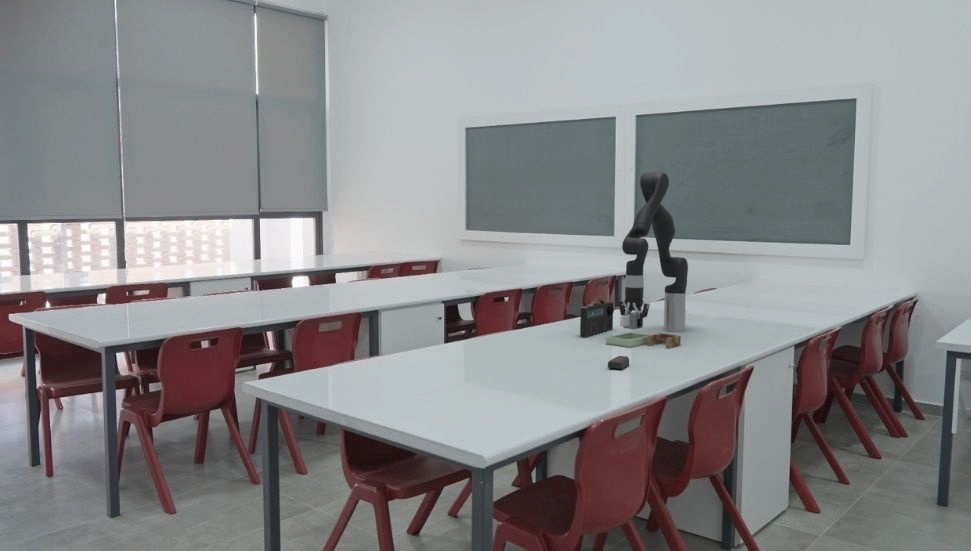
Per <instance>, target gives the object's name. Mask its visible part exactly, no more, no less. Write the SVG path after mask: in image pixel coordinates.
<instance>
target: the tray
mask: <svg viewBox="0 0 971 551" xmlns="http://www.w3.org/2000/svg"><path fill="white" fill-rule="evenodd" d="M650 335H651V334H645V333H637V332H629V331H628V332H625V333H620V334H614V335H610V336H605V345H608V346H616V347H622V348H629V349H630V348H635V347H639V346H644V345H647V336H650ZM643 344H644V345H643Z"/></svg>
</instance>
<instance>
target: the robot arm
mask: <svg viewBox="0 0 971 551" xmlns="http://www.w3.org/2000/svg"><path fill="white" fill-rule="evenodd" d="M639 179H640V180H639V184H640V189H641V193H642V195H643V196H642V197H643V198H644V201H645V204H644V205H643V206H642V207H641V208H640V209H639V211H638V212H637V214H636V215H635V218H634V221H633V225H632V227H631V229H630V230H629V232H628V233H627V234H626V236H625V238H624V239H623V241H622V245H621V248H622V252H623V253H624V254H625V255H629V256H631V255H632V256H636V257H635V259H633V260H628V261H627V262H626V266H625V278H624V297H625V299H624V300H620V301H618V308H619V312H620V316H624V314H625V313H632V312H633V311H634V313H636V314H637V317H638V319H637V328H639V329H642V328H641V326H642V321H643V322H644V318H648V314H649V309H650V306H651V305H650V303H649V302H647V303H646V302H644V286H645V285H644V284H645V282H644V281H645V280H644V265H645V261H646V259H647V258H646V257H647V254H648V251H649V242H648V241H647V239H646V238H645V237H646V236H648V235H649V233H650V230H651V227H652V231H653V234H654V238H655V241H656V246H657V250H658V257H659V263H660V269H661V273H662V275H663V276H664V277H665V278H673V279H675V280H674V282H673V283H672V284H668V285H665V287H664V307H663V308H664V309H663V331H665V332H670V333H671V332H672V333H682V332H685V330H686V317H687V316H686V312H687V311H686V290H687V286H688V275H689V274H688V271H689V263H688V261H687V259H686V258H685V257H681V256H680V257H679V256H672V255H671V253H670V247H671V244H672V241H673V240H674V237H675V235H676V227H675V223H674V220H673V216H672V215H671V213H670V211H668V210H667V209H666V208H665V207H664V206H663V204H661V203H662V201H663V200H664V197H665V196H666V194H667V192H668V189H669V185H670V179H669V176H668V174H667V173H666V172H665V171H663V172H662V171H657V172H656V171H655V172H654V171H653V172H645V173H643V174H641V176H640V178H639ZM642 308H643V309H642Z"/></svg>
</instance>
